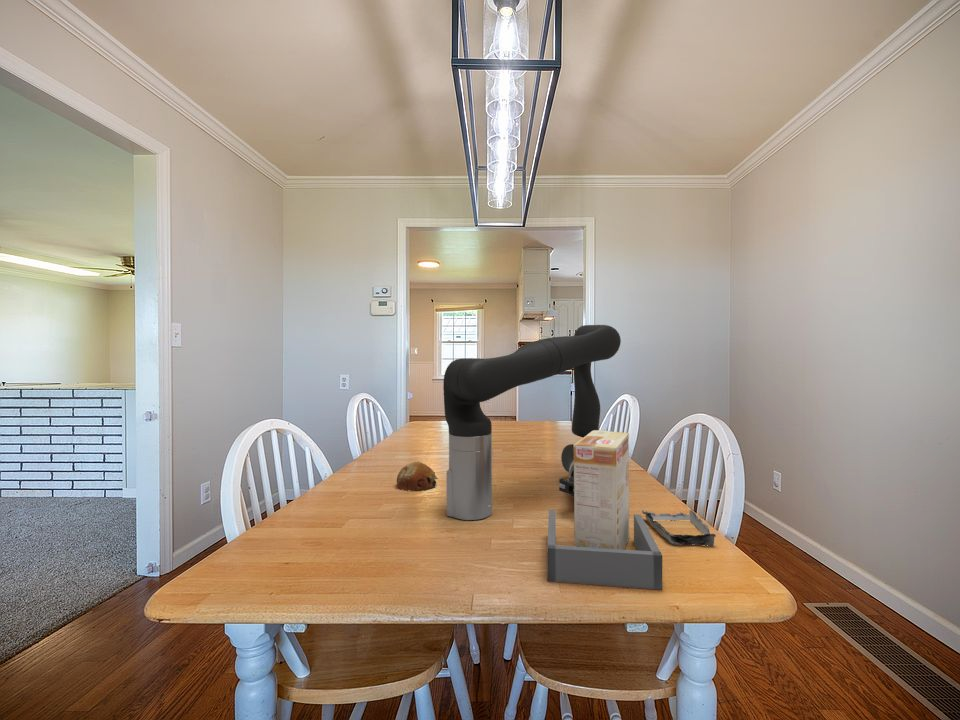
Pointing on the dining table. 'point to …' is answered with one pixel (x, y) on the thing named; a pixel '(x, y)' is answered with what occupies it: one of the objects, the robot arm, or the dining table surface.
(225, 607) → the dining table surface
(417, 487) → the bread roll
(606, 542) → the coffeecake box
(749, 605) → the dining table surface
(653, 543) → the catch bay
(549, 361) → the robot arm
